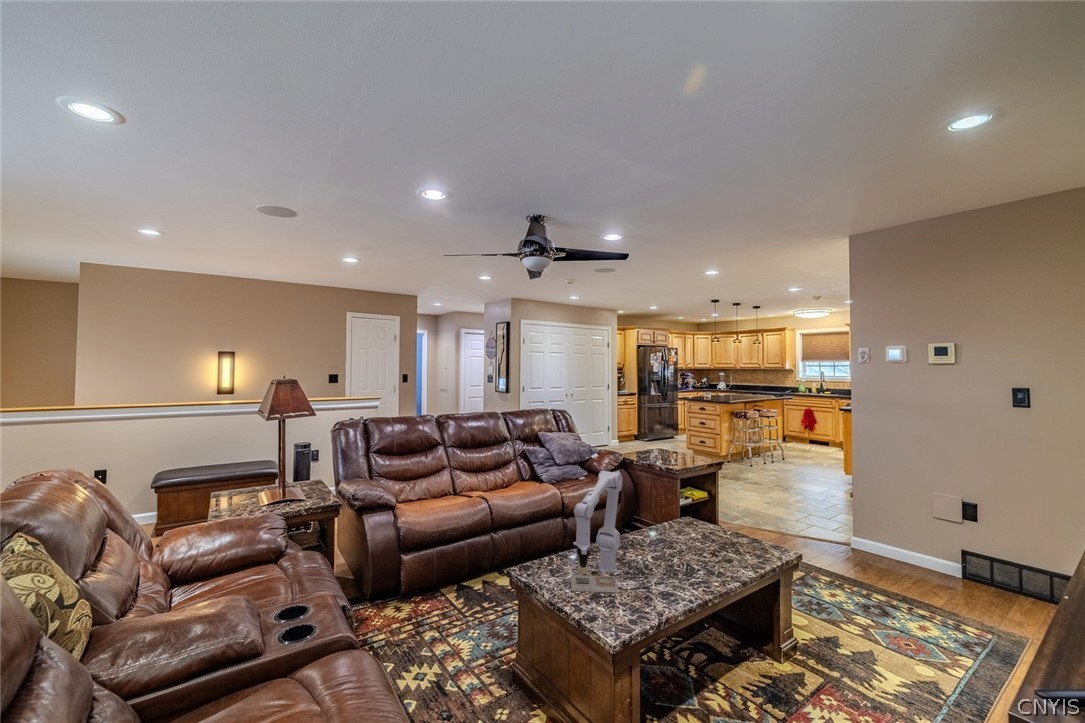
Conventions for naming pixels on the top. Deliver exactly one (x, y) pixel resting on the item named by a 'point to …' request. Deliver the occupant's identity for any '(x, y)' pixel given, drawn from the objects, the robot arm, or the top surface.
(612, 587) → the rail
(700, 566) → the top surface
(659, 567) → the top surface
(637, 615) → the top surface
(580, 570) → the peg
